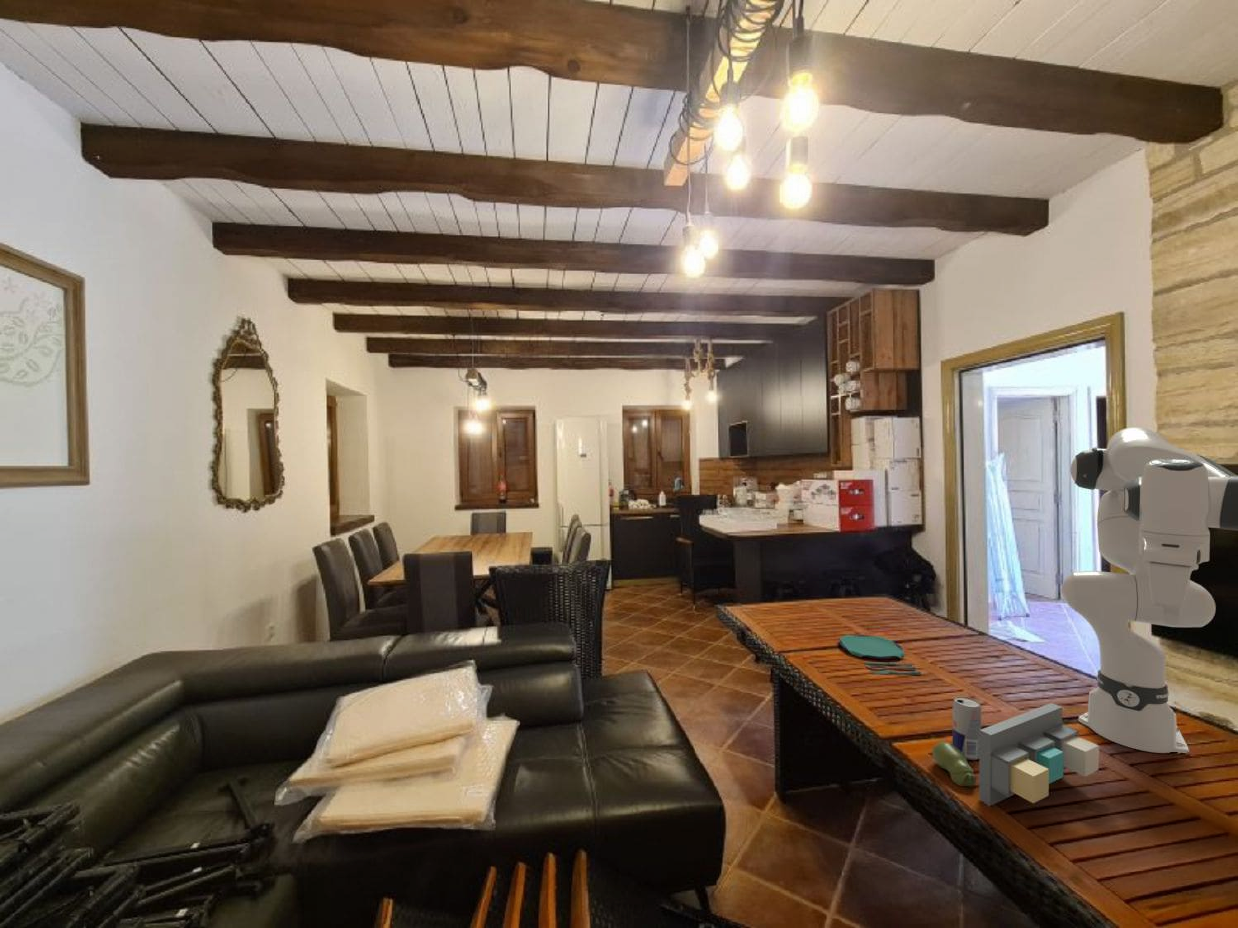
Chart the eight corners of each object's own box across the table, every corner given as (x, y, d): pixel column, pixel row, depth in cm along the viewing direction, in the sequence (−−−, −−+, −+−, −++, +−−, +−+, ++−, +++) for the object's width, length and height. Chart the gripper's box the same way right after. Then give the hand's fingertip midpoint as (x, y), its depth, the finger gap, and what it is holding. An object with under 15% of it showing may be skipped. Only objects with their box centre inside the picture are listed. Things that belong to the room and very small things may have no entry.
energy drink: (953, 744, 121) (954, 693, 120) (981, 752, 117) (982, 700, 117) (950, 754, 116) (951, 702, 116) (979, 763, 113) (980, 709, 113)
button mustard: (1021, 781, 100) (1021, 756, 100) (1048, 795, 96) (1048, 768, 96) (1006, 788, 98) (1006, 762, 98) (1033, 803, 94) (1033, 776, 94)
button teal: (1036, 764, 105) (1037, 740, 105) (1063, 776, 101) (1063, 751, 101) (1022, 770, 103) (1022, 746, 103) (1049, 783, 99) (1049, 758, 99)
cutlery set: (889, 640, 186) (889, 634, 186) (928, 678, 157) (928, 671, 157) (832, 639, 189) (832, 632, 189) (860, 676, 159) (860, 668, 159)
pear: (953, 736, 114) (985, 771, 104) (950, 757, 115) (982, 793, 105) (928, 736, 114) (958, 771, 104) (925, 757, 115) (955, 794, 105)
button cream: (1071, 757, 108) (1071, 734, 107) (1098, 769, 103) (1098, 745, 103) (1058, 763, 105) (1058, 739, 105) (1085, 776, 101) (1085, 751, 101)
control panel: (1050, 766, 112) (1051, 702, 112) (1078, 779, 107) (1079, 713, 107) (979, 799, 101) (979, 729, 101) (1007, 816, 97) (1008, 742, 96)
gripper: (1154, 539, 103) (1152, 607, 104) (1141, 552, 90) (1140, 630, 91) (1201, 543, 98) (1199, 614, 99) (1195, 558, 85) (1193, 640, 86)
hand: (1171, 622), depth 95 cm, fingers closed
